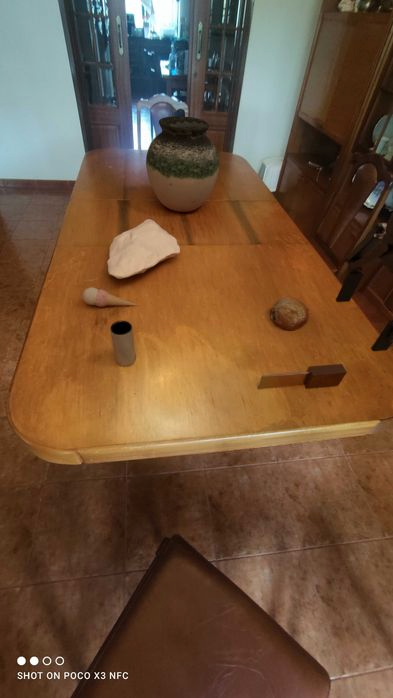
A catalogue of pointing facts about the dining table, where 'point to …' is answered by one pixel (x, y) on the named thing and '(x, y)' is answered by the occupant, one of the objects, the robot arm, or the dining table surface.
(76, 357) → the dining table surface
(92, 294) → the ice cream cone
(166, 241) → the white rock slab
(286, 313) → the bread roll
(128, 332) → the grey cylinder
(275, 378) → the knife
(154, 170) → the vase
